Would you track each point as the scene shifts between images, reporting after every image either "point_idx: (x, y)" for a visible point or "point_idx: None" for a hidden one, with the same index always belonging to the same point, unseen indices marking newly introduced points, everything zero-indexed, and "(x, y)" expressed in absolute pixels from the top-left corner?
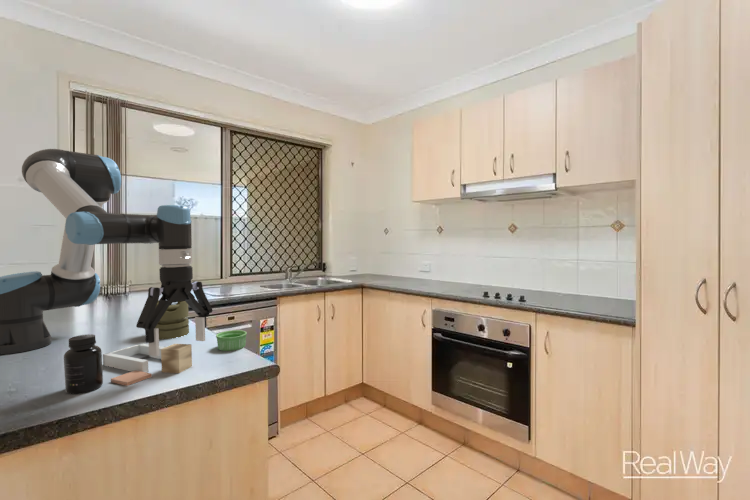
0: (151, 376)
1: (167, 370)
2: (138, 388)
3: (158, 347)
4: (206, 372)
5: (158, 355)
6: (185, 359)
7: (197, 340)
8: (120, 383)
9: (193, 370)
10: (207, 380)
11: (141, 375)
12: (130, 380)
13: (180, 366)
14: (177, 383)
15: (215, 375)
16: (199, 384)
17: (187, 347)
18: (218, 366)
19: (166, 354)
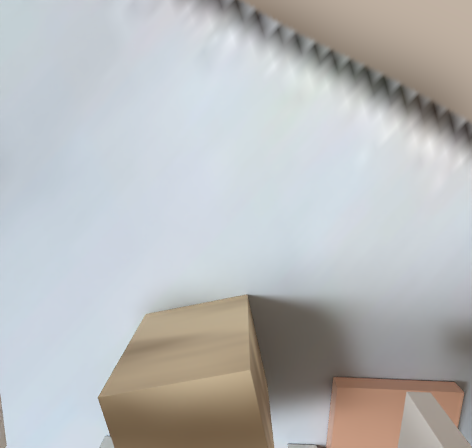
0: (334, 378)
1: (261, 362)
2: (464, 310)
3: (447, 441)
4: (183, 164)
5: (415, 392)
6: (189, 332)
7: (3, 431)
8: None
9: (188, 257)
10: (275, 58)
11: (371, 410)
12: (440, 400)
13: (237, 310)
14: (361, 185)
15: (199, 74)
16: (336, 54)
17: (149, 381)
18: (83, 173)
19: (267, 432)
